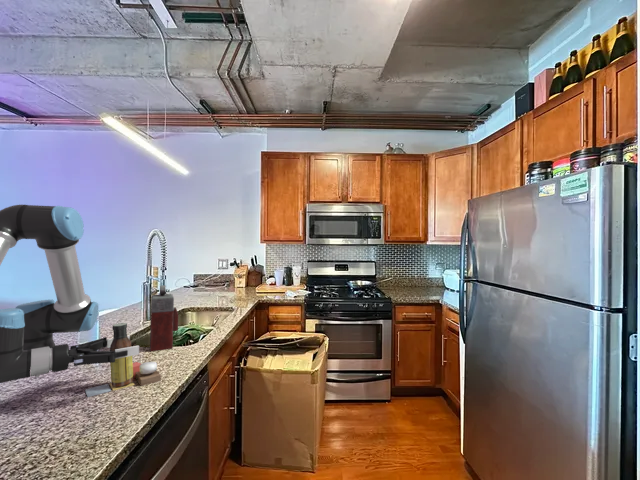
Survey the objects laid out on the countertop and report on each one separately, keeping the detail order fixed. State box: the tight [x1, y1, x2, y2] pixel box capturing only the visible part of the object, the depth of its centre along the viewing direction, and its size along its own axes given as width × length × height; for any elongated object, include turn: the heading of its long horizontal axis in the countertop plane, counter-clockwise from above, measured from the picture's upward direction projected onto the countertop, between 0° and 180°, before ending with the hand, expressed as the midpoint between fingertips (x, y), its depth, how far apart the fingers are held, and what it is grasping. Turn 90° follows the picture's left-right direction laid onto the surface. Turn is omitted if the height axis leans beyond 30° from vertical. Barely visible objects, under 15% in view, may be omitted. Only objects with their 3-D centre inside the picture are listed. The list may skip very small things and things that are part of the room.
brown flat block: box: [134, 370, 162, 387], centre depth 107 cm, size 8×6×2 cm
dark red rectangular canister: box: [149, 284, 179, 353], centre depth 141 cm, size 9×11×28 cm
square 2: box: [109, 381, 135, 391], centre depth 103 cm, size 6×6×1 cm
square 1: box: [84, 383, 112, 398], centre depth 98 cm, size 6×6×1 cm
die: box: [133, 361, 142, 379], centre depth 110 cm, size 4×4×4 cm
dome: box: [140, 361, 158, 374], centre depth 107 cm, size 5×5×2 cm
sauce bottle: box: [109, 322, 134, 387], centre depth 103 cm, size 6×6×20 cm
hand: (133, 344), depth 105 cm, fingers open, 13 cm apart
